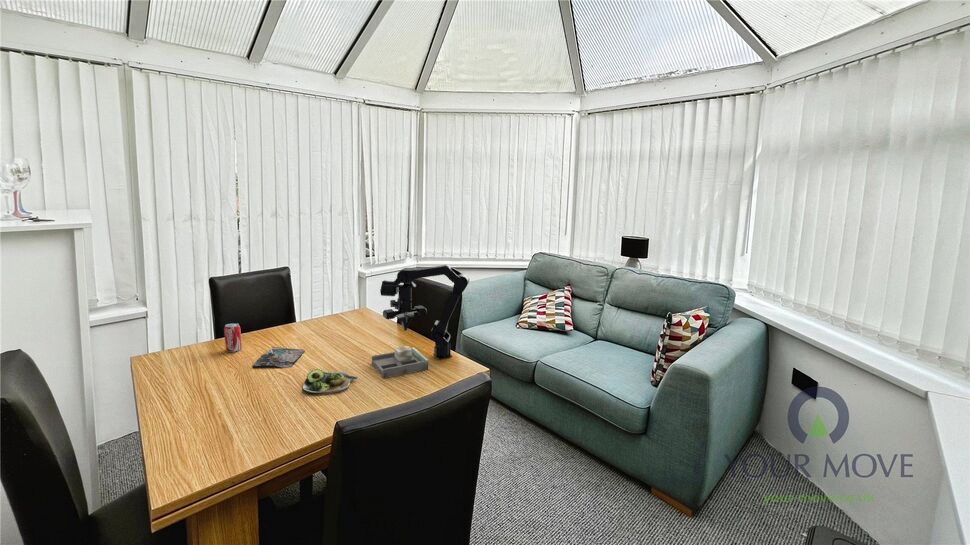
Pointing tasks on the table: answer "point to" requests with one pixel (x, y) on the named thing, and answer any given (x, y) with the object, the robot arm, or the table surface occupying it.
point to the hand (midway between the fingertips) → (405, 330)
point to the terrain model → (279, 358)
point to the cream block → (403, 353)
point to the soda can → (232, 337)
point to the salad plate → (325, 382)
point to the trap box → (399, 364)
